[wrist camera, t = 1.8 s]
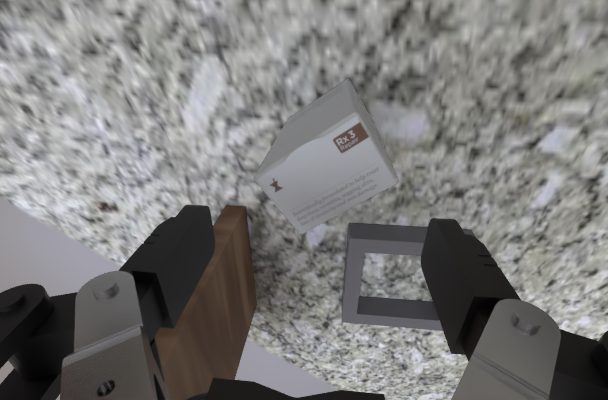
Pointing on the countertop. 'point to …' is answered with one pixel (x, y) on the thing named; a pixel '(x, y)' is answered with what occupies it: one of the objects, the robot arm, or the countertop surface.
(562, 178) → the countertop surface
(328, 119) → the skincare box
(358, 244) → the socket
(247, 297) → the awning stand
